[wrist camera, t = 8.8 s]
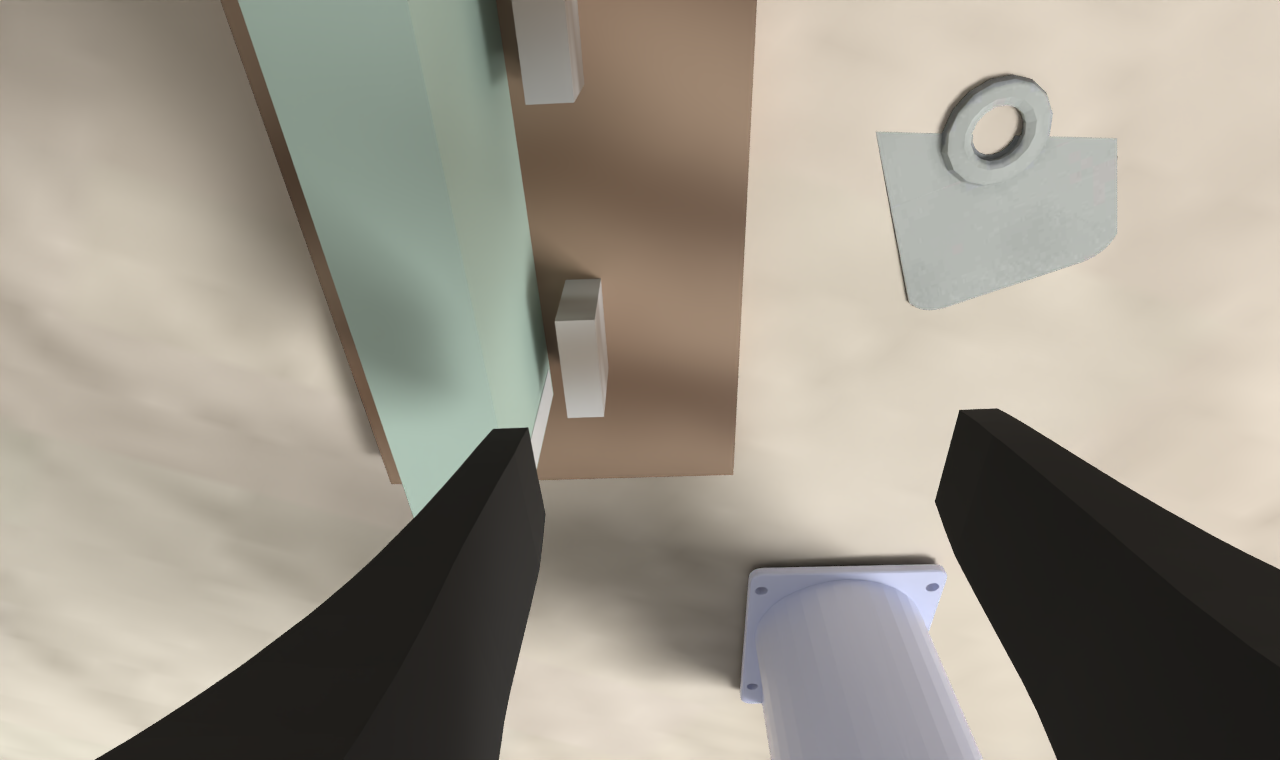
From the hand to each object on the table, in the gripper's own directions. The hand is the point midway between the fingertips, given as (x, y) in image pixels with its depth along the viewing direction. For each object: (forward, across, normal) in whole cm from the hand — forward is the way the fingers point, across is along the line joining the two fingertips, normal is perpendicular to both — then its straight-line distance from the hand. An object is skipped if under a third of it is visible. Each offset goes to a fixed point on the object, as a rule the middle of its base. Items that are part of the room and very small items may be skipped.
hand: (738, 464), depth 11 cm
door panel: (+8, +6, -2) cm, 10 cm away
